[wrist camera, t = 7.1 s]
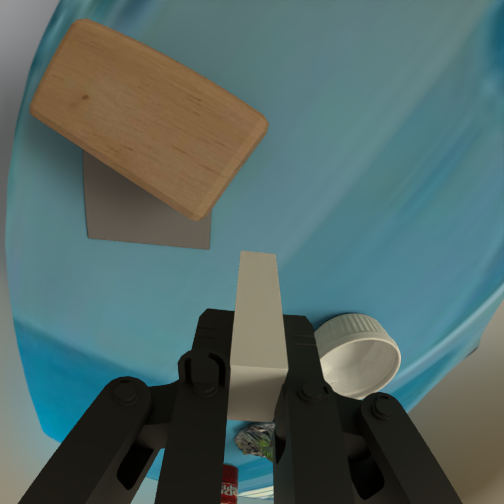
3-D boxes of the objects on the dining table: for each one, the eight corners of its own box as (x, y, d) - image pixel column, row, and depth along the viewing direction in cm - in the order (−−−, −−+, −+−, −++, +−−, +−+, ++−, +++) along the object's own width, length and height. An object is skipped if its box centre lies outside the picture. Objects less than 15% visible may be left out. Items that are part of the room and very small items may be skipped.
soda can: (214, 460, 60) (210, 501, 49) (242, 465, 61) (241, 505, 50) (207, 468, 63) (203, 507, 52) (233, 473, 64) (231, 511, 53)
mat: (85, 111, 28) (83, 111, 28) (219, 108, 28) (218, 108, 28) (89, 237, 35) (88, 238, 34) (209, 248, 35) (209, 249, 35)
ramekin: (399, 336, 42) (415, 366, 35) (334, 381, 46) (341, 413, 39) (355, 287, 38) (372, 320, 31) (282, 343, 42) (285, 379, 35)
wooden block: (198, 230, 23) (22, 114, 18) (214, 197, 32) (76, 109, 27) (275, 123, 20) (74, 13, 15) (268, 121, 29) (120, 35, 24)
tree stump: (213, 434, 54) (218, 502, 37) (286, 382, 53) (313, 451, 36) (269, 462, 59) (284, 520, 42) (335, 418, 58) (366, 475, 41)
